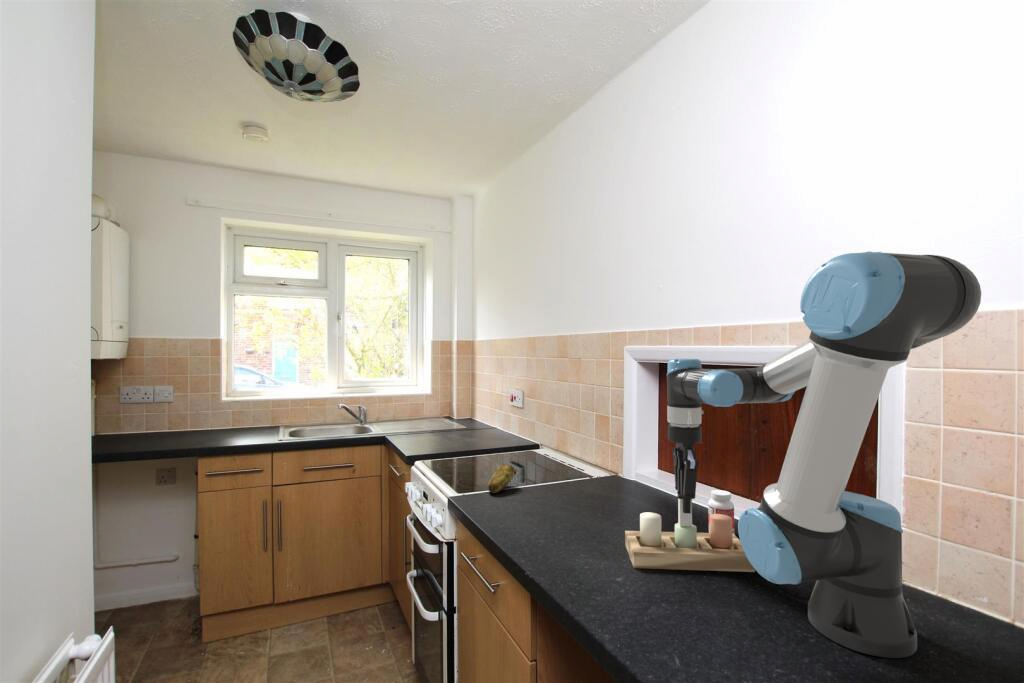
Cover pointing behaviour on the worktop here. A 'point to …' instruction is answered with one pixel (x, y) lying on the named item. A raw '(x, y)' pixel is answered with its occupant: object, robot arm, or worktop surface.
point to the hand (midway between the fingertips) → (685, 525)
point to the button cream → (650, 529)
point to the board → (686, 554)
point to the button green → (685, 536)
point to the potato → (500, 478)
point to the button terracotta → (721, 531)
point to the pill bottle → (721, 505)
